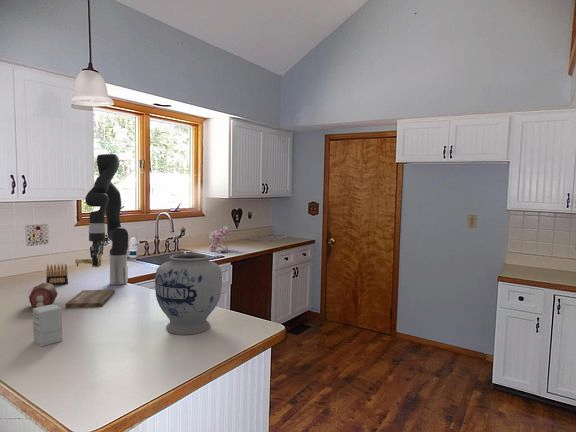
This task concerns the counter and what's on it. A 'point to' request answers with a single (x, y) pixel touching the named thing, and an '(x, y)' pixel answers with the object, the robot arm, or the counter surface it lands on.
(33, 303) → the meat
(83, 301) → the walnut board
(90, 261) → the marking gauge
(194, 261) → the apothecary jar
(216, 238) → the flower
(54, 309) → the supplement box
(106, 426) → the counter surface
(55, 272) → the ammunition clip
